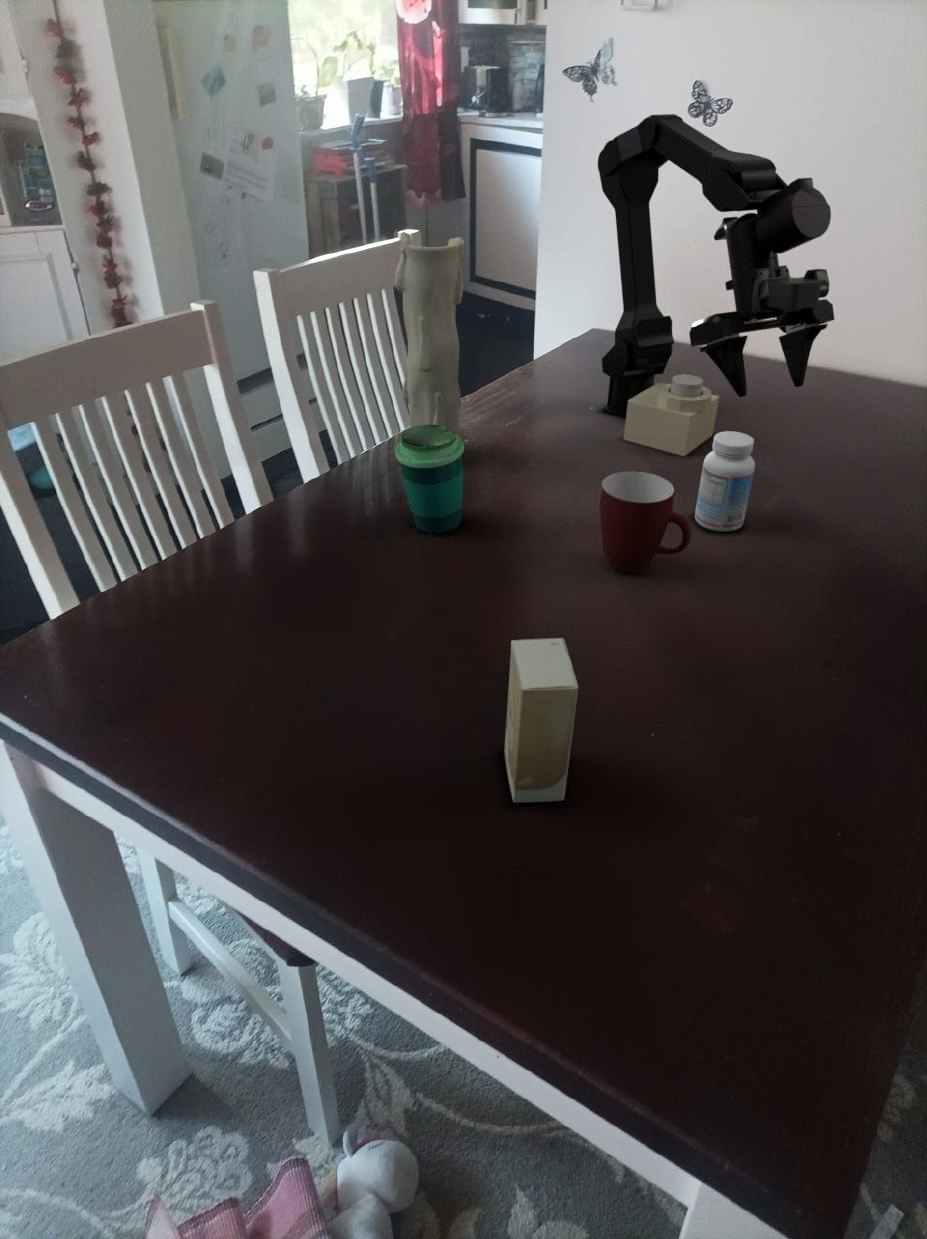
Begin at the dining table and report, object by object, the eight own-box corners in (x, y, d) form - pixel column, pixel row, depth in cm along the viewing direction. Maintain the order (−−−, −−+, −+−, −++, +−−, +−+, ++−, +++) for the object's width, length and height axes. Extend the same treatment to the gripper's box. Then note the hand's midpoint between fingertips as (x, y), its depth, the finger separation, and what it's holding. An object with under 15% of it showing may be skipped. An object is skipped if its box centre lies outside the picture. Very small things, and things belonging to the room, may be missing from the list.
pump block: (623, 439, 131) (629, 388, 127) (653, 420, 138) (660, 370, 133) (688, 457, 126) (697, 404, 121) (716, 436, 133) (726, 385, 128)
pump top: (664, 394, 126) (666, 380, 124) (677, 386, 129) (680, 372, 127) (692, 401, 124) (695, 386, 122) (705, 393, 126) (708, 378, 125)
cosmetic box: (503, 751, 75) (508, 636, 68) (552, 749, 75) (563, 634, 68) (512, 807, 70) (520, 688, 63) (566, 804, 70) (579, 685, 63)
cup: (475, 532, 107) (477, 440, 100) (416, 547, 104) (414, 454, 97) (444, 505, 113) (444, 417, 106) (387, 519, 109) (383, 429, 103)
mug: (685, 555, 103) (699, 477, 97) (682, 590, 96) (697, 510, 91) (596, 543, 105) (604, 467, 99) (587, 577, 98) (596, 498, 93)
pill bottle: (738, 512, 112) (756, 429, 106) (746, 535, 107) (765, 449, 101) (690, 509, 112) (705, 427, 106) (696, 532, 107) (712, 447, 101)
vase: (394, 461, 124) (385, 235, 107) (419, 439, 130) (414, 223, 113) (449, 471, 121) (449, 241, 104) (472, 448, 128) (475, 228, 111)
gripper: (738, 251, 98) (757, 390, 100) (861, 238, 105) (876, 369, 107) (678, 279, 108) (697, 405, 111) (793, 266, 115) (809, 385, 117)
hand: (771, 391), depth 111 cm, fingers open, 9 cm apart
